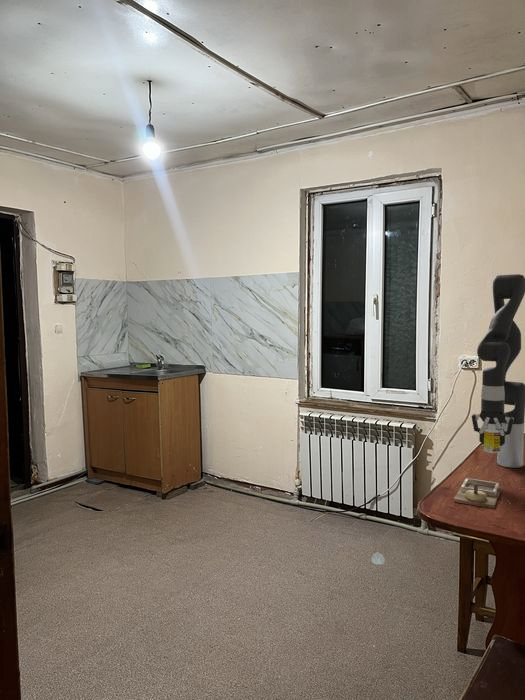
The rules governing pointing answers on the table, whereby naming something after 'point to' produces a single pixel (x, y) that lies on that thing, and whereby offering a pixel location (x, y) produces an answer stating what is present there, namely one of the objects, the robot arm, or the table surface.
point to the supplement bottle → (491, 439)
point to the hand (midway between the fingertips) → (491, 444)
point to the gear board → (484, 504)
